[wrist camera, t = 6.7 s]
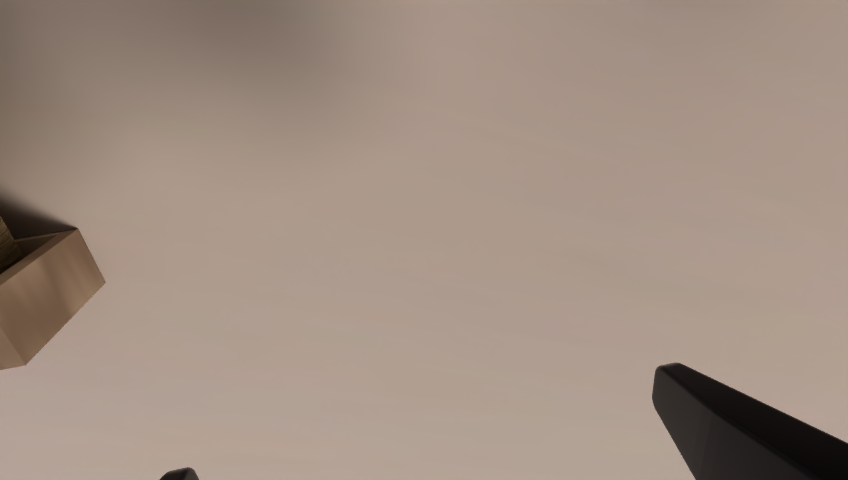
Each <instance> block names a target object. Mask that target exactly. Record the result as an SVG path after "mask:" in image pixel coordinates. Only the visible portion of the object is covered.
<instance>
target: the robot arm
mask: <svg viewBox="0 0 848 480" xmlns="http://www.w3.org/2000/svg"><path fill="white" fill-rule="evenodd" d="M652 400H653V404H654V407H655V409H656V411H657V413H658V414H659V416H660V418H661V420H662V421H663V423H664V425H665V427H666V429H667V430H668V432H669V434H670V436H671V437H672V439H673V441H674V443H675V444H676V446H677V448H678V450H679V451H680V453H681V455H682V457H683V459H684V460H685V462H686V464H687V466H688V467H689V469H690V471H691V472H692V474H693V476H694V477H695V479H696V480H848V443H846V442H844V441H842V440H840V439H838V438H836V437H834V436H832V435H830V434H828V433H825V432H823V431H821V430H819V429H817V428H815V427H813V426H811V425H809V424H807V423H805V422H802V421H800V420H798V419H796V418H794V417H792V416H790V415H788V414H786V413H784V412H781V411H779V410H777V409H775V408H773V407H771V406H769V405H767V404H765V403H763V402H760V401H758V400H756V399H754V398H752V397H750V396H748V395H746V394H744V393H742V392H740V391H737V390H735V389H733V388H731V387H729V386H727V385H725V384H723V383H721V382H719V381H716V380H714V379H712V378H710V377H708V376H706V375H704V374H702V373H700V372H698V371H696V370H693V369H691V368H689V367H687V366H685V365H683V364H680V363H670V364H666V365H661V366H659V367H657V369H656V371H655V377H654V385H653V393H652ZM160 480H199V478H198V476H197V475H196V473H195V471H194V470H193V469H192V468H190V467H189V468H188V467H187V468H182V469H177V470H173V471H169V472H167V473H166V474H165V475H164V476H162V478H161V479H160Z"/></svg>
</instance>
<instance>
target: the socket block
mask: <svg viewBox="0 0 848 480" xmlns="http://www.w3.org/2000/svg"><path fill="white" fill-rule="evenodd" d="M15 242H16V244H17V245H18V247H19V249H20V251H21V252H22V254H23V256H24V257H25V258H24V259H22V260H21V261H19V262H18V263H16V264H15V265H14V266H12V267H11V268H9V269H8V270H6V271H5V272H4V273H2V274H1V275H0V370H3V369H8V368H13V367H19V366H24V365H26V364H27V363H28V362H29V361H30V360H31V359H32V358H33V357H34V356H35V355H36V354H37V353H38V352H39V351H40V350H41V349H42V348H43V347H44V346H45V345H46V344H47V343H48V342H49V340H50V339H51V338H52V337H53V336H54V335H55V334H56V333H57V332H58V331H59V330H60V329H61V328H62V327H63V326H64V325H65V324H66V323H67V322H68V321H69V320H70V319H71V318H72V317H73V316H74V315H75V314H76V313H77V312H78V311H79V310H80V309H81V307H82V306H83V305H84V304H85V303H86V302H87V301H88V300H89V299H90V298H91V297H92V296H93V295H94V294H95V293H96V292H97V291H98V290H99V289H100V288H101V287H102V286H103V285H104V284H105V281H104V279H103V277H102V275H101V273H100V271H99V269H98V267H97V265H96V263H95V261H94V259H93V257H92V255H91V253H90V251H89V249H88V247H87V245H86V244H85V242H84V240H83V238H82V236H81V234H80V232H79V230H78V229H75V230H69V231H63V232H57V233H51V234H45V235H39V236H33V237H27V238H21V239H15Z"/></svg>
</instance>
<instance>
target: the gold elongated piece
mask: <svg viewBox="0 0 848 480" xmlns="http://www.w3.org/2000/svg"><path fill="white" fill-rule="evenodd" d="M24 258H25V257H24V256H23V254H22V252H21V251H20V249H19V247H18V245H17V244H16V242H15V240H14V239H13V237H12V235H11V234H10V232H9V230H8V228H7V227H6V225H5V223H4V222H3V220H2V218H1V216H0V275H1V274H2V273H4V272H5V271H6V270H8V269H9V268H11V267H12V266H14V265H15V264H16V263H18V262H19V261H21V260H22V259H24Z"/></svg>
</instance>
